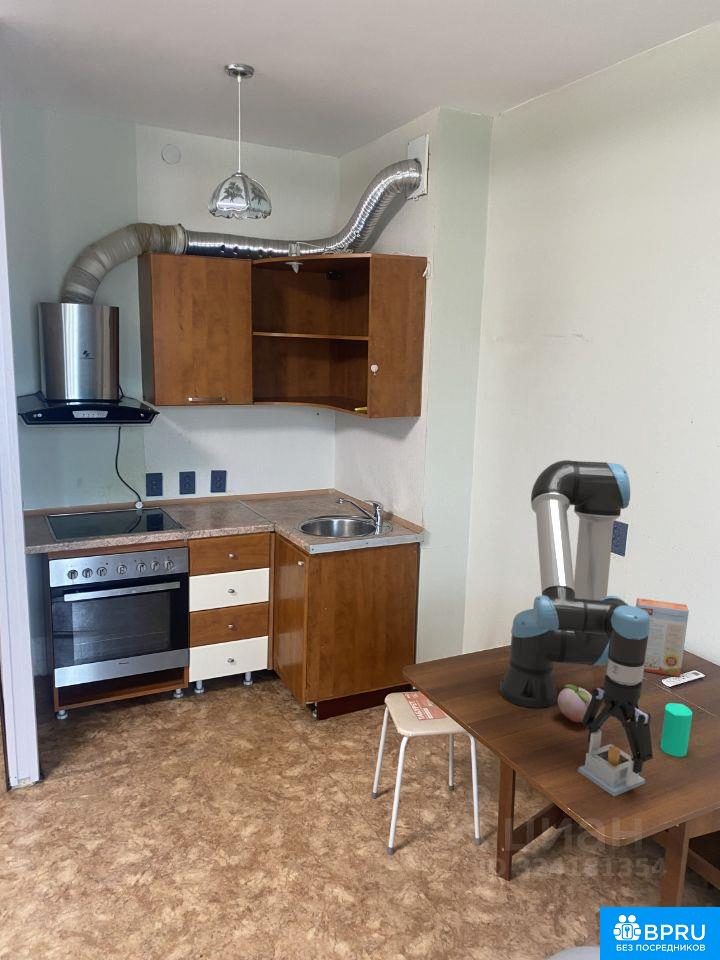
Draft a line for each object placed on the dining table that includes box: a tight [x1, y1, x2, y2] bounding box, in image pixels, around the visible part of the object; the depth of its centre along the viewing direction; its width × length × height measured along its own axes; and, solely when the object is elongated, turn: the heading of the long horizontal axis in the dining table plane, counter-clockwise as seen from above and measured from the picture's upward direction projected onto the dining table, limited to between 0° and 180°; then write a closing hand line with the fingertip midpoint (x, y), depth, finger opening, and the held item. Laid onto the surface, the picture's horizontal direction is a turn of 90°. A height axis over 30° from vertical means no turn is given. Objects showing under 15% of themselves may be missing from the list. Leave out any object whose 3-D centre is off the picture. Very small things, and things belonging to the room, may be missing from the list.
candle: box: [660, 702, 693, 757], centre depth 170 cm, size 6×6×12 cm
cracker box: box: [635, 598, 690, 677], centre depth 212 cm, size 14×6×21 cm, turn 72°
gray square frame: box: [584, 743, 640, 789], centre depth 158 cm, size 8×8×4 cm
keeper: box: [577, 745, 646, 797], centre depth 158 cm, size 10×10×7 cm
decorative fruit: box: [556, 684, 592, 723], centre depth 181 cm, size 9×8×10 cm
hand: (611, 770), depth 158 cm, fingers open, 10 cm apart
